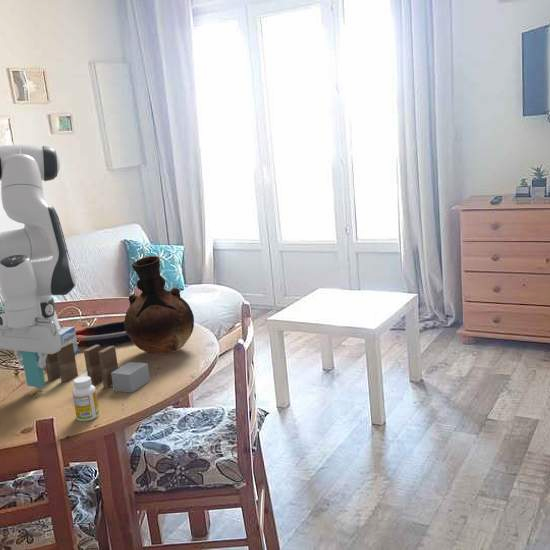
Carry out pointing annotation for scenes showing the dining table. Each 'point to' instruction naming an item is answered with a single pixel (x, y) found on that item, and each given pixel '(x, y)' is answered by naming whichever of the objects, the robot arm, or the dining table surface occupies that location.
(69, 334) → the medicine box
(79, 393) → the supplement bottle
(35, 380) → the domino
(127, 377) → the end block
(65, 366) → the domino
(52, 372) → the domino
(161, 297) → the ceramic vessel
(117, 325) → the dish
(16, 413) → the dining table surface
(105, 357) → the domino
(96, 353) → the domino
